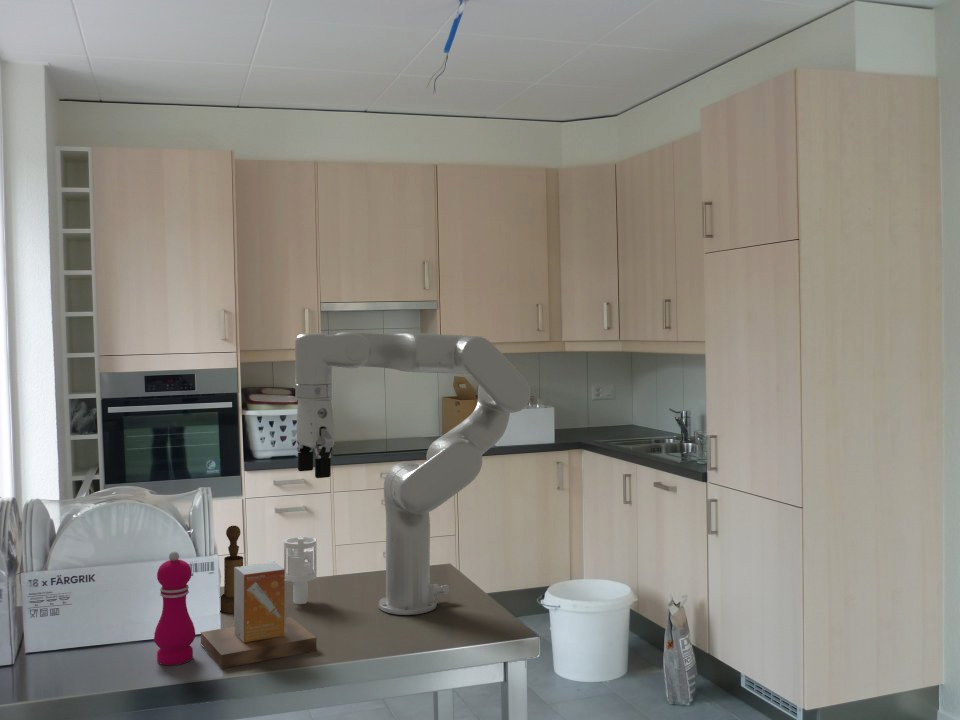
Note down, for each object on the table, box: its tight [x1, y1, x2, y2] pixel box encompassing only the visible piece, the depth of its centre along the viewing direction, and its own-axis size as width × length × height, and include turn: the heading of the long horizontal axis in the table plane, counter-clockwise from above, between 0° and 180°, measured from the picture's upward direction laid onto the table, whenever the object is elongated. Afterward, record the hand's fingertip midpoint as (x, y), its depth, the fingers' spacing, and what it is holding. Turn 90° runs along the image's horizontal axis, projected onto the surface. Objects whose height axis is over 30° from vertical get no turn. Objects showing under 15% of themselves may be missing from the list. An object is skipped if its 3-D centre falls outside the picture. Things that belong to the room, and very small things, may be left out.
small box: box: [233, 561, 286, 643], centre depth 176 cm, size 8×6×13 cm
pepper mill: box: [153, 551, 196, 666], centre depth 170 cm, size 7×7×20 cm
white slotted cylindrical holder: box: [283, 535, 318, 605], centre depth 205 cm, size 7×7×15 cm
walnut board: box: [200, 616, 317, 669], centre depth 176 cm, size 18×14×2 cm
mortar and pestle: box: [220, 525, 244, 614], centre depth 200 cm, size 7×6×18 cm
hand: (314, 474), depth 194 cm, fingers open, 9 cm apart
